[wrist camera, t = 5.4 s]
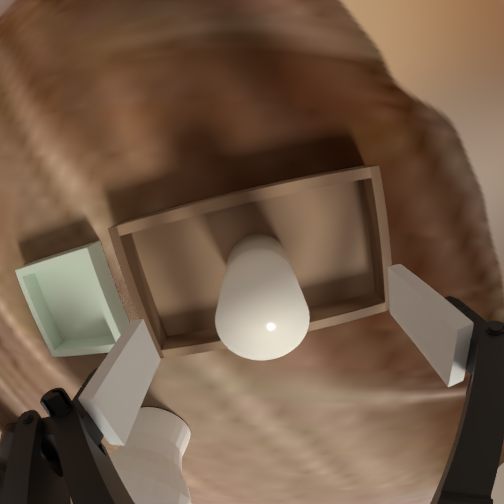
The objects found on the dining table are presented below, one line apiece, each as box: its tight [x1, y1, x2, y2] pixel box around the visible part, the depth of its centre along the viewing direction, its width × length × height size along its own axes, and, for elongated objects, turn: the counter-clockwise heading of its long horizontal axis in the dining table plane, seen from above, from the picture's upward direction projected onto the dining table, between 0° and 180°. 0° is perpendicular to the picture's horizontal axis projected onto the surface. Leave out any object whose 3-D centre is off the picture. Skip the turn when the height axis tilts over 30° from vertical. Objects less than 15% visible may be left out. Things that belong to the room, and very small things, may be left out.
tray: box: [108, 165, 392, 358], centre depth 24 cm, size 21×12×3 cm, turn 103°
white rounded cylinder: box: [215, 233, 310, 360], centre depth 20 cm, size 5×5×10 cm
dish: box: [15, 240, 130, 357], centre depth 25 cm, size 10×10×2 cm
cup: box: [109, 407, 192, 504], centre depth 24 cm, size 11×11×15 cm
